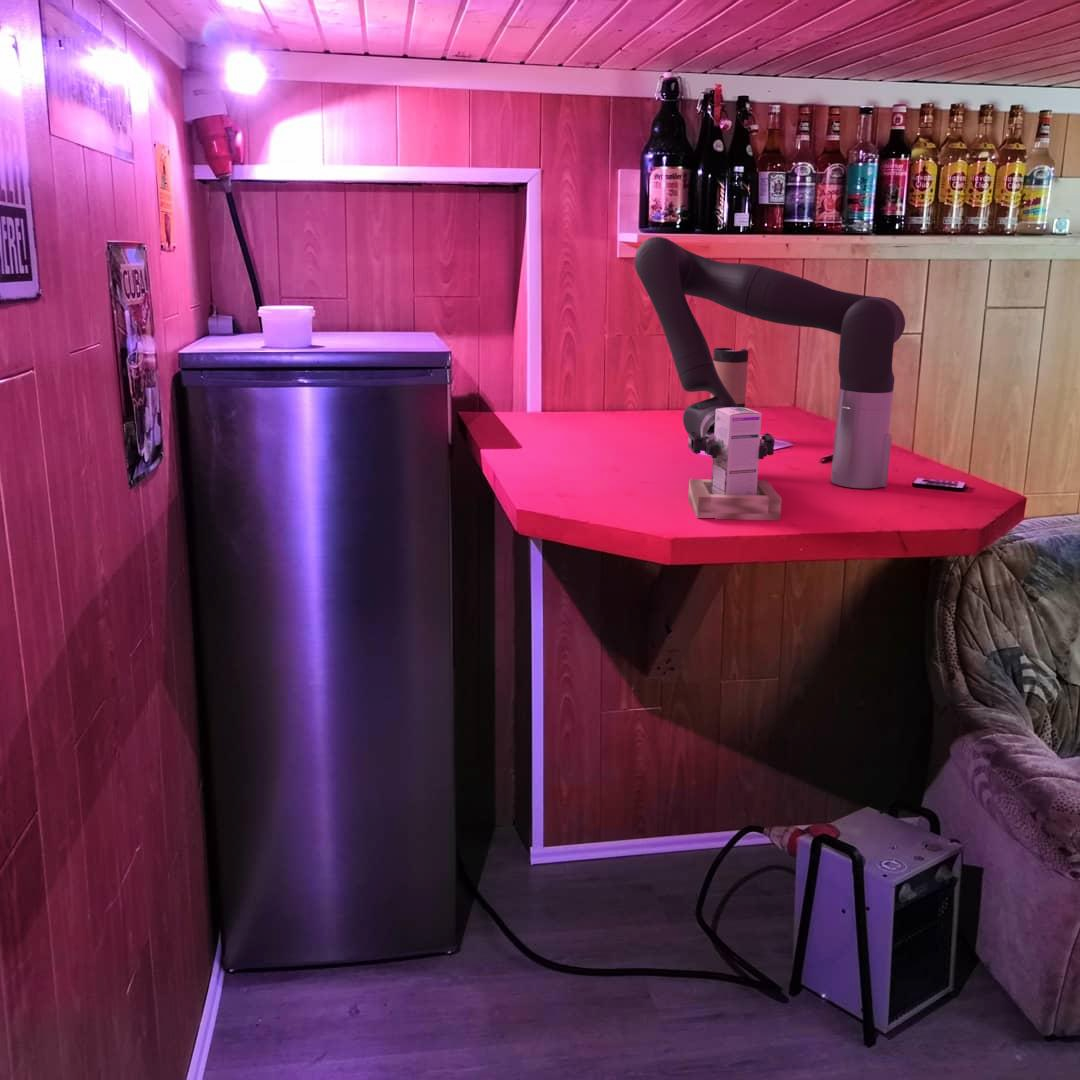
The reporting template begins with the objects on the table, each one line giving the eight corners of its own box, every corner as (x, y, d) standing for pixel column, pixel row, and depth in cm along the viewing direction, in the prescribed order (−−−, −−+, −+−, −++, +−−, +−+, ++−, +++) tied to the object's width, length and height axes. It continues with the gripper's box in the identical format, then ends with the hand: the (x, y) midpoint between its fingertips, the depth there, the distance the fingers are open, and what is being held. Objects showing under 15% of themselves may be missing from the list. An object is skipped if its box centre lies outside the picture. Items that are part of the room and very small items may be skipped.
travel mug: (716, 444, 229) (722, 351, 224) (702, 438, 236) (707, 347, 231) (748, 443, 231) (755, 351, 226) (733, 437, 238) (739, 347, 233)
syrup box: (757, 501, 170) (764, 412, 166) (724, 503, 168) (730, 413, 164) (741, 493, 175) (747, 406, 171) (708, 494, 173) (714, 407, 169)
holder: (765, 501, 178) (766, 480, 177) (780, 520, 166) (781, 498, 165) (688, 499, 178) (689, 479, 177) (697, 518, 166) (698, 496, 165)
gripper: (683, 411, 182) (694, 428, 166) (766, 412, 182) (785, 430, 166) (681, 453, 184) (691, 474, 168) (763, 455, 184) (782, 476, 168)
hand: (738, 452), depth 167 cm, fingers closed on syrup box, 7 cm apart
